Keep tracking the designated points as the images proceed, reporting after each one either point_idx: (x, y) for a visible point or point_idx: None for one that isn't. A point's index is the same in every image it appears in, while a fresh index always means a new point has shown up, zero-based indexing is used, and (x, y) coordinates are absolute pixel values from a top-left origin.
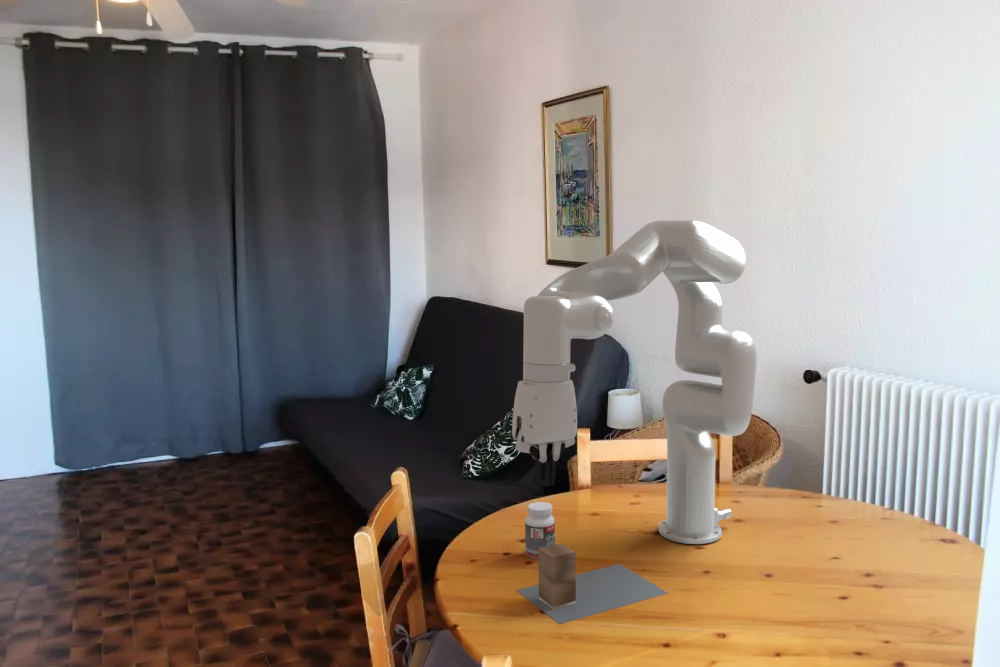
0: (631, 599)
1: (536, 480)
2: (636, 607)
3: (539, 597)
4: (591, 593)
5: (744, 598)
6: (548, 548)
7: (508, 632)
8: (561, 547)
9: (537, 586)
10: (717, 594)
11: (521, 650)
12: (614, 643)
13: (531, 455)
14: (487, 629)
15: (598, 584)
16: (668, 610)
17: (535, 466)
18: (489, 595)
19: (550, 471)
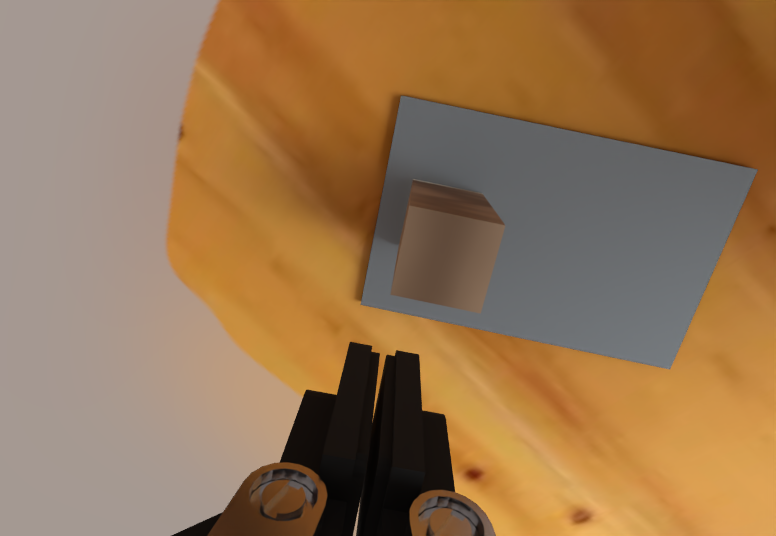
0: (578, 333)
1: (350, 344)
2: (564, 350)
3: (412, 181)
4: (534, 249)
5: (768, 474)
6: (435, 230)
7: (259, 241)
8: (475, 255)
9: (462, 118)
10: (750, 429)
11: (238, 314)
12: None
13: (196, 531)
14: (228, 199)
15: (592, 224)
16: (601, 402)
17: (285, 448)
18: (337, 50)
19: (357, 530)
